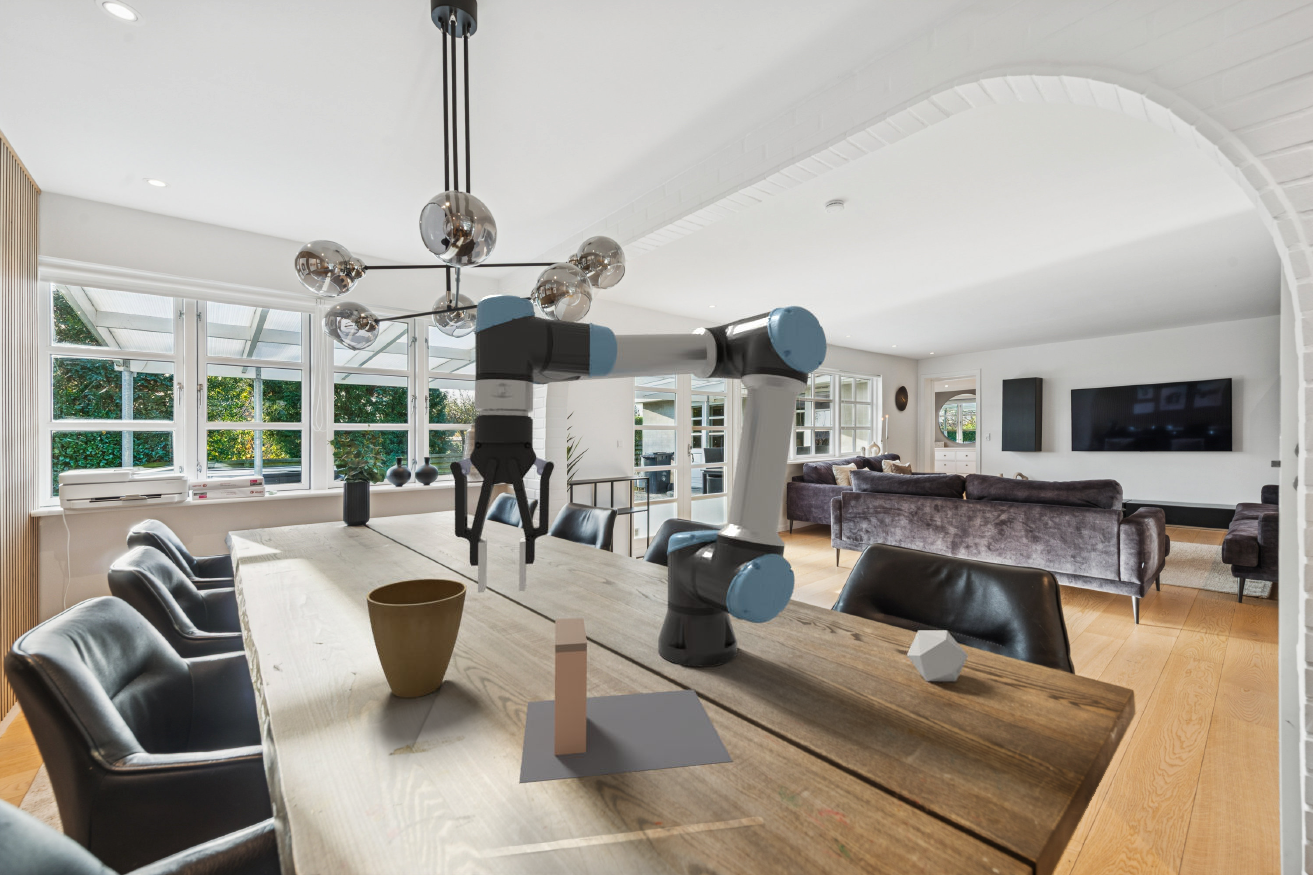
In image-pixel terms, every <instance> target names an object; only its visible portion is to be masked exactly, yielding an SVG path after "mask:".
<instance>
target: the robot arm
mask: <svg viewBox="0 0 1313 875" xmlns="http://www.w3.org/2000/svg"><path fill="white" fill-rule="evenodd" d="M475 315H476V318H475V329H474V332H473V334H474V335H475V337H474V338H475V342H474V343H475V344H474V346H475V348H474V349H475V381H474V410H475V411H476V412H479V414H478V415H476V417H475V418H474V437H473V438H474V441H473V442H474V443H473V449H472V452H471V454H470V455H469V457H467V458H465V459H462V460H457V461H456V460H455V461H453V462H451V463H450V464H449V469H450V472H451V474H452V476H453V480H454V535H455V536H456V537H457V538H461V539H466V540H467V541H468V543H469V565H470V566H472V567H477V570H478V571H477V593H478V594H479V593H485V591H486V589H487V585H488V583H487V577H488V576H487V572H488V571H487V568H488V567H487V566H488V563H487V562H488V561H487V560H488V558H487V557H488V548H487V546H488V539H487V538H482V533H483V529H484V526H485V521H486V517H487V515H488V514H487V513H488V509H489V507H490V503H491V502H490V501H491V497H492V494H493V489H494V486H495V485H500V484H506V485H512V488H513V491H514V495H515V499H516V503H517V507H518V508H517V509H518V512H519V516H520V521H521V525H522V528H523V529H522V530H523V532H524V533H523V534H524V537H521V538H520V540H519V548H518V549H519V551H518V552H519V553H518V554H519V556H518V558H519V559H518V561H519V562H518V566H519V569H518V571H519V573H518V575H519V576H518V581H519V583H518V587H519V588H518V592H524V591H526V587H527V565H533V564H534V562H535V558H536V539H538V538H540V537H542V536H546V535H548V533H549V527H550V526H549V525H550V524H549V522H550V521H549V518H550V514H549V513H550V511H549V510H550V479H551V476H552V474H553V470H554V469H555V464H554V461H552V460H551V461H550V460H549V461H547V460H545V459H542V458H539V457H537V454H536V452H535V450H534V447H533V446H534V445H533V444H534V443H533V442H534V441H533V439H534V437H533V436H534V434H533V432H534V430H533V429H534V426H533V425H534V420H533V419H532V417H531V416H529V414H531V413H532V412H533V411H534V385H547V384H549V383H559V382H561V383H562V382H573V381H575V382H576V381H590V380H591V381H592V380H605V379H606V380H607V379H623V378H642V377H644V378H645V377H656V376H657V377H659V376H673V375H676V376H677V375H693V376H694V377H696V378H698V379H713V378H714V379H728V380H729V379H730V380H740V382H741V384H742V385H743V387H744V388H745V389H746V391H747V392H746V393H747V394H746V399H745V406H744V413H743V419H742V427H741V433H740V441H739V445H738V446H739V447H738V454H737V459H736V460H737V461H736V466H735V473H734V474H735V475H734V480H733V481H734V482H733V486H732V493H731V500H730V506H729V514H728V520H727V524H726V525H725V526H724V527H722V528H721V529H720V530H715V529H714V530H695V531H683V532H676V533H673V534H672V535H671V536H670V537H669V539H668V545H667V552H666V555H667V611H666V614H665V617H664V620H663V623H662V627H661V629H660V632H659V636H658V638H657V640H658V642H657V644H658V648H657V650H658V651H657V652H658V653H659V655H660V656H661V657H662V658H664V659H666V660H667V661H669V662H672V663H676V664H679V665H682V666H683V665H684V666H693V667H712V666H718V665H719V666H720V665H723V664H725V663H729V662H731V661H732V660H733V659H735V657H737V654H738V641H737V637H736V634H735V631H734V628H733V624H732V621H731V618H730V616H731V617H733V618H735V619H738V620H741V621H743V620H744V621H746V622H749V623H752V624H764V623H767V622H771V621H772V620H773V619H775V618H776V617H778V615H779V614H780V613H781V612H784V610H785V609H786V608H787V606H788V604H789V603H790V600H791V599H792V596H793V593H794V588H795V573H794V570H792V565H791V563H789V560H787V559H786V558H785V557H784V553H785V546H786V544H785V542H784V540H783V539H782V538H781V536H780V535H779V533H778V531H779V524H780V518H781V517H780V516H781V510H782V502H783V494H784V487H785V482H786V481H785V480H786V475H787V473H786V472H787V466H788V458H789V452H790V444H791V438H792V433H793V432H792V431H793V423H794V417H795V416H794V415H795V409H796V402H797V398H798V396H799V395H800V394H802V393H803V392H804V391H806V390H807V388H808V380H809V374H810V373H813V372H814V371H816V370H818V368H819V367H820V366H821V365H823V363H824V361H825V358H826V356H827V348H828V347H827V338H826V334H825V331H824V328H823V326H821V324H820V322H819V319H818V317H817V316H816V315H814V314H813V313H812V312H811V311H810V310H808V309H806V308H804V307H801V306H798V305H791V306H785V307H776V308H773V309H772V310H771V311H768V312H767V311H766V312H764V313H760V314H757V315H753V316H749V317H746V318H745V317H744V318H741V319H738V320H735V321H732V322H728V323H725V324H722V325H718V326H713V327H699V328H696V329H695V330H693V331H692V332H691V333H662V334H661V333H658V334H657V333H654V334H653V333H651V334H648V333H646V334H645V333H643V334H615V332H614V331H613V329H611V328H610V327H608V326H604V325H599V324H594V323H593V322H589V323H585V322H577V321H575V322H574V321H568V320H567V321H566V320H559V319H552V318H551V319H550V318H544V317H543V318H542V317H539V316H536V312H535V307H534V304H533V302H532V301H531V300H530V299H528V298H524V297H521V296H518V295H509V294H494V295H493V294H492V295H487V296H485V297H482V299H480V300H479V301H478V302H477V306H476V314H475ZM533 465H534V466H535V467H536V474H537V475H539V476H540V480H539V508H538V510H539V511H538V512H539V516H538V517H539V518H538V526H534V522H533V517H532V514H531V508H530V504H529V501H528V496H527V492H526V486H525V483H524V482H525V481H524V478H525V477H526V475H527V474H528V473H529V472H530V470H531V468H532V467H533ZM472 466H473V467H474V468H475V470H476V471H477V472H478V474H479V475H480V476H481V477H482V484H481V487H480V494H479V497H478V500H477V506H476V508H475V513H474V517H473V521H472V525H471V528H470V527H468V525H469V524H468V518H469V517H468V514H469V513H468V475H470V473H471V467H472Z"/></svg>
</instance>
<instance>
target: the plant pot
mask: <svg viewBox="0 0 1313 875" xmlns="http://www.w3.org/2000/svg"><path fill="white" fill-rule="evenodd" d="M466 585H467V584H465V583H463V582H461V581H457V580H453V579H446V578H418V579H417V578H415V579H406V580H401V581H395V582H392V583H387V584H383V585H381V586H378V587H376V588H374V589H371V590H370V591H368V593H367V594H366V603H367V610H368V616H369V623H370V628H371V632H372V637H373V641H374V645H375V649H376V653H377V656H378V660H379V662H380V665H381V668H382V671H383V674H384V676H385V679H386V681H387V685H388V686H389V688H390V690H391V692H392V694H393V695H395V696H396V697H398V698H408V699H409V698H417V697H423V696H425V695H429V694H431V693H434V692H436V691H437V690H438V689H440V687H441V685H442V683H443V681H444V677H445V675H446V673H447V670H448V667H449V665H450V661H451V659H452V655H453V652H454V648H455V647H456V642H457V639H458V636H459V630H460V626H461V623H462V617H463V612H464V608H465V607H464V606H465V601H466V594H467V586H466Z"/></svg>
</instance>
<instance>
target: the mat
mask: <svg viewBox="0 0 1313 875" xmlns="http://www.w3.org/2000/svg"><path fill="white" fill-rule="evenodd" d="M526 710H527V711H526V715H525V716H526V718H525V727H524V736H523V737H524V738H523V745H522V746H523V747H522V756H521V762H520V774H519V784H526V783H534V782H535V783H537V782H543V781H545V782H546V781H553V780H564V779H574V778H576V779H577V778H585V777H594V776H595V777H596V776H603V775H615V774H625V773H633V772H642V771H643V772H644V771H652V770H653V771H654V770H665V769H673V768H682V767H683V768H684V767H692V766H693V767H695V766H703V765H712V764H713V765H715V764H722V763H732V762H734V761H733V758H732V757H731V756H730V753H729V752H728V750H727V748H726V746H725V744H724V743H723V740H722V739H721V737H720V735H719V733H718V731H717V730H716V728H715V726H714V724H713V722H712V720H711V718H710V717H709V715H708V713H707V711H706V710H705V707H704V706H703V704H702V702H701V700H700V699H699V697H698V695H697V693H696V691H695V689H681V690H669V691H657V692H656V691H655V692H643V693H633V694H632V693H630V694H629V693H628V694H617V695H616V694H615V695H604V696H603V695H602V696H601V695H600V696H589V697H587V700H586V752H584V753H573V754H562V755H554V733H555V699H551V700H536V701H528V702H527V708H526Z"/></svg>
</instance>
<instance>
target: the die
mask: <svg viewBox="0 0 1313 875" xmlns="http://www.w3.org/2000/svg"><path fill="white" fill-rule="evenodd" d="M906 657H907V658H908V659H909V660H910V662H911V663H912V664H913V666H914V667H915V668H916V669H917V671H918V672H919V674H920V675H921V676H922V677H923V679H924V680H925V681H926V682H957V680H958V678H959V676H960V673H961V672H962V669H963V667H964V666H965V663H966V661H967V659H968V658H969V655H968V653H967V652H966V651H965V650H964V649H963V648H962V647H961V645H960V644H959V643H958V642H957V641H956V639H955V638H954V637H953V636H952V635H951V634H950V632H949V631H948V630H940V629H939V630H930V629H929V630H921V629H920V630H917V632H916V634H915V636H914V638H913V641H912V643H911V645H910V647H909V650H908V652H907V654H906Z"/></svg>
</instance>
